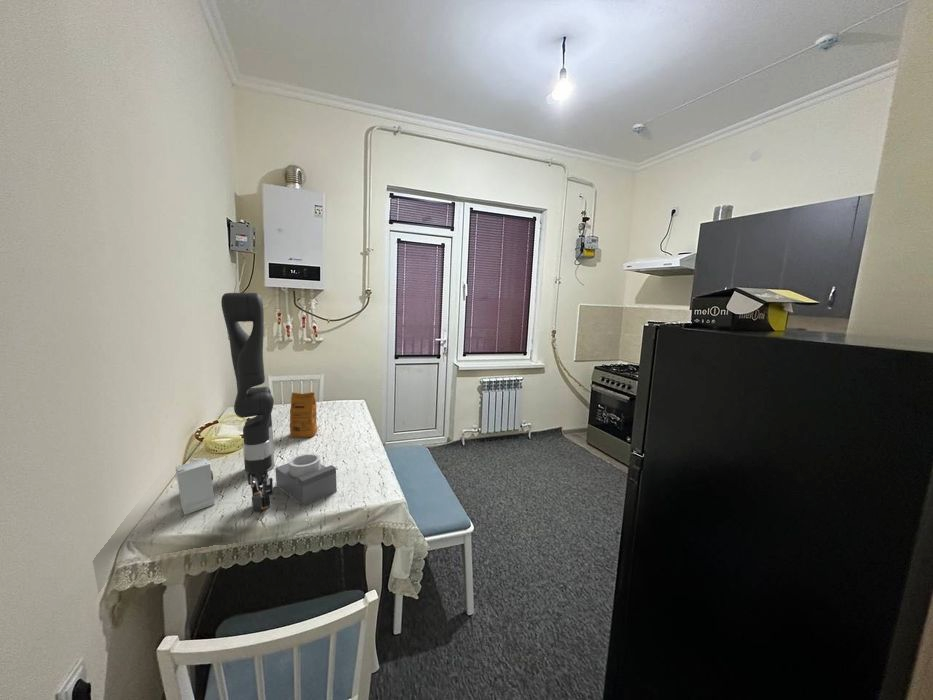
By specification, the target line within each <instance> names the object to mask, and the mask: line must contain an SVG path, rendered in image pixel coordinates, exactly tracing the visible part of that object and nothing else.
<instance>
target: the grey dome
mask: <svg viewBox="0 0 933 700" xmlns="http://www.w3.org/2000/svg"><path fill="white" fill-rule="evenodd" d="M269 501H270V502H271V495H270V496H269ZM251 506H252V511H253V512H254V513H255V512H256V513H257V512H258V513H259V512H263V511H266V510H268V509H269V508H270V507H271V504H270V505H269V506H267V507H264V508H263V507H262V506H261V495H260V491H259V492H256V493H254V495H253V496H251Z"/></svg>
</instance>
